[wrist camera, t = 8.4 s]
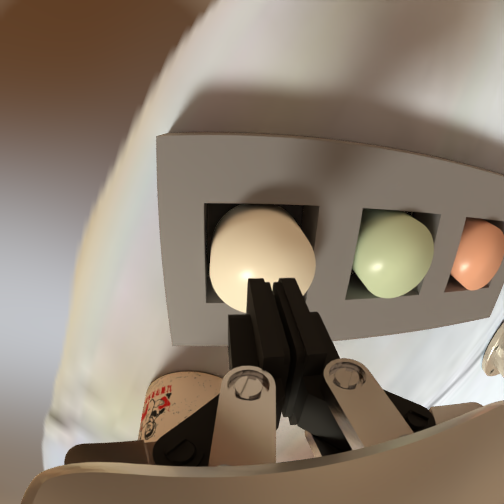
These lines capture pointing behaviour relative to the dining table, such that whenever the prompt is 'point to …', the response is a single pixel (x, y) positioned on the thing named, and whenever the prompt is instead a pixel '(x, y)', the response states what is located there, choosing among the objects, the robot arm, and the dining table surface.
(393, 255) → the sage button
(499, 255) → the terracotta button
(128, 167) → the dining table surface
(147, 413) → the teacup with lid
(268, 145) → the button panel
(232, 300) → the cream button
